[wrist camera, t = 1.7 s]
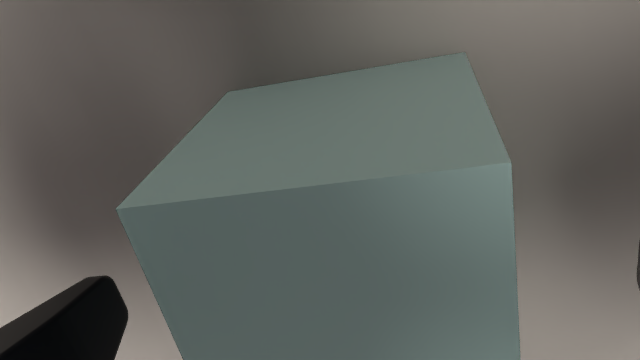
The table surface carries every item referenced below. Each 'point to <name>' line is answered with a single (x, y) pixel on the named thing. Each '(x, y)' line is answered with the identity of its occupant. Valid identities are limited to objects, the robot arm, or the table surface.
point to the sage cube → (336, 222)
